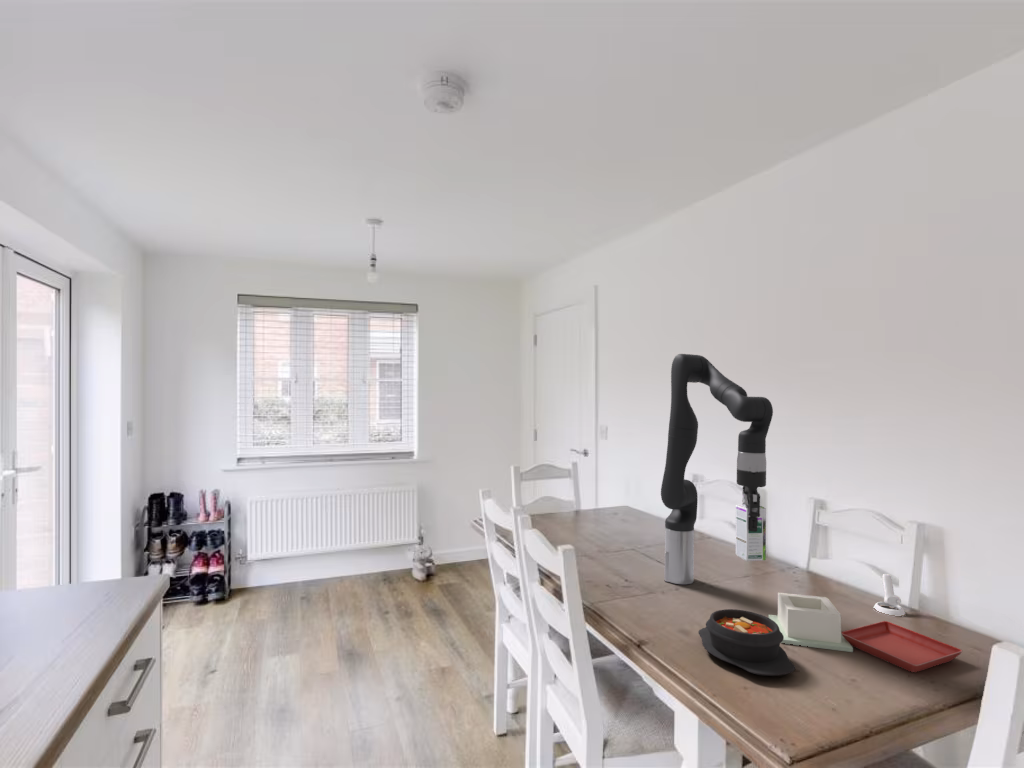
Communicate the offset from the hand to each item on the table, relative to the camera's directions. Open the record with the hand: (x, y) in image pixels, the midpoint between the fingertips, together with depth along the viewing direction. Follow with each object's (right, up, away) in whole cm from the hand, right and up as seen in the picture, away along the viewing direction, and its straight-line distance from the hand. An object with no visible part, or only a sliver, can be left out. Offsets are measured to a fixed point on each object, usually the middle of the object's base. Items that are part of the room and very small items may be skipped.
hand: (750, 527), depth 152 cm
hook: (+43, -26, +6) cm, 51 cm away
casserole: (-11, -25, -22) cm, 35 cm away
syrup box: (0, -9, 0) cm, 9 cm away
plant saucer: (+28, -26, -19) cm, 43 cm away
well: (+11, -25, -10) cm, 29 cm away
